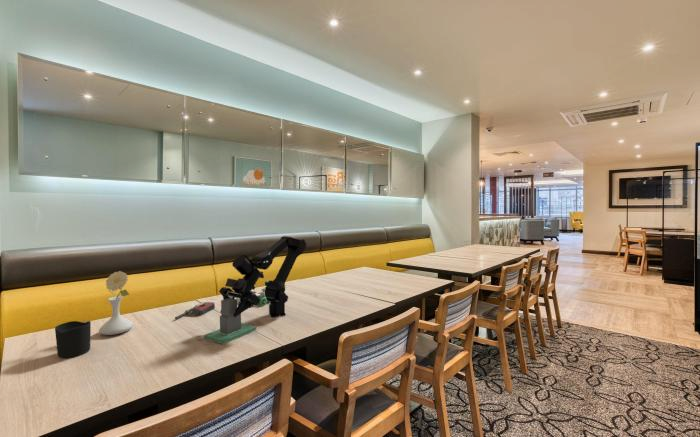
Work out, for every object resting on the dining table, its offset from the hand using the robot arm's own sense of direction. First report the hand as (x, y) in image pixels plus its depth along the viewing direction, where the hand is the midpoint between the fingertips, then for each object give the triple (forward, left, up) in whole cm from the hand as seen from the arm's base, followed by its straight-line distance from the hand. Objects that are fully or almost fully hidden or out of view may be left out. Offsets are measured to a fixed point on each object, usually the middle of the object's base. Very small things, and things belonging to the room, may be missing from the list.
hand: (227, 314), depth 129 cm
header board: (-1, -1, -8) cm, 8 cm away
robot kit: (-18, -44, -9) cm, 49 cm away
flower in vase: (+41, -20, -8) cm, 46 cm away
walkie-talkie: (+13, -33, -9) cm, 36 cm away
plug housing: (-1, -1, -7) cm, 7 cm away
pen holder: (+50, -4, -8) cm, 51 cm away
